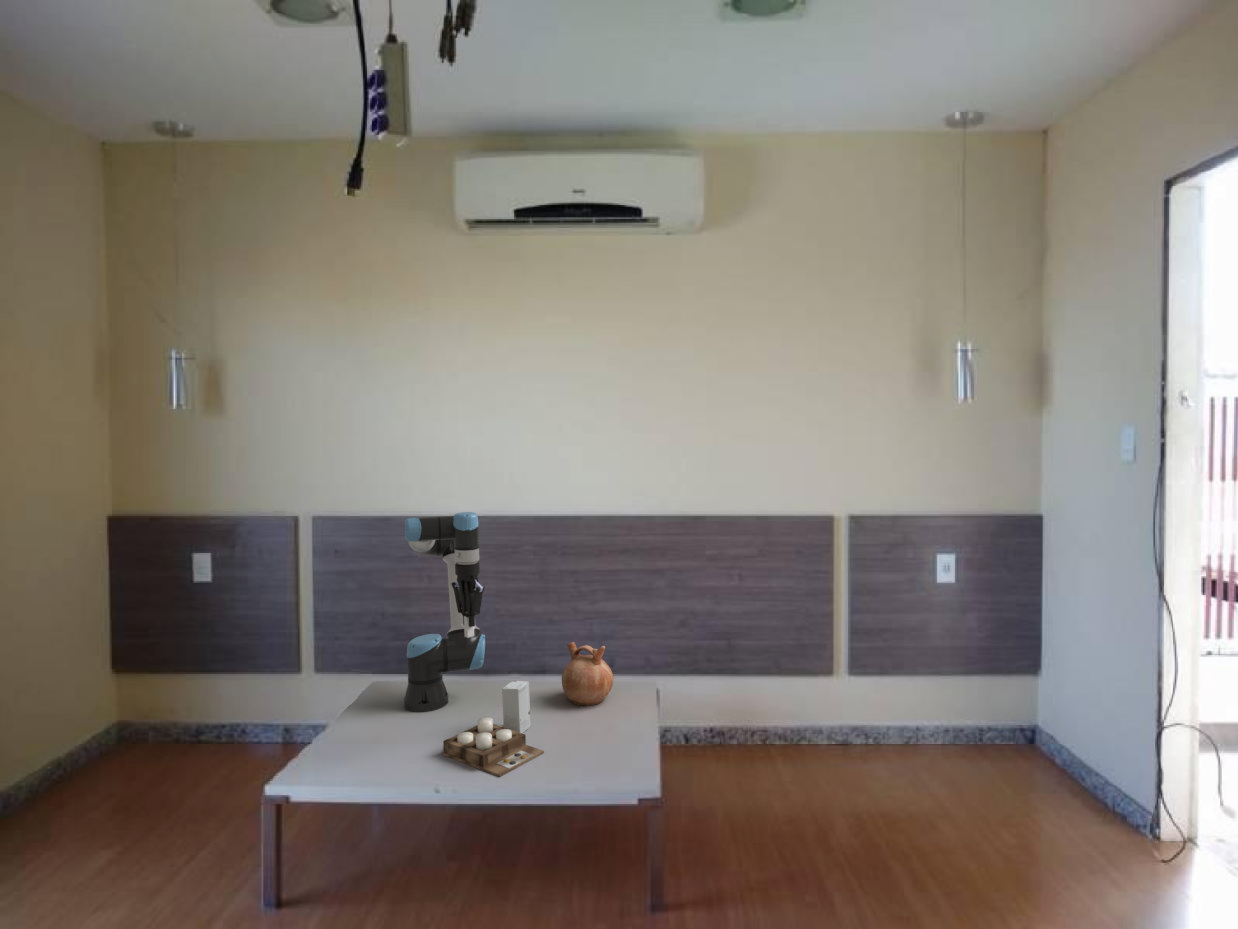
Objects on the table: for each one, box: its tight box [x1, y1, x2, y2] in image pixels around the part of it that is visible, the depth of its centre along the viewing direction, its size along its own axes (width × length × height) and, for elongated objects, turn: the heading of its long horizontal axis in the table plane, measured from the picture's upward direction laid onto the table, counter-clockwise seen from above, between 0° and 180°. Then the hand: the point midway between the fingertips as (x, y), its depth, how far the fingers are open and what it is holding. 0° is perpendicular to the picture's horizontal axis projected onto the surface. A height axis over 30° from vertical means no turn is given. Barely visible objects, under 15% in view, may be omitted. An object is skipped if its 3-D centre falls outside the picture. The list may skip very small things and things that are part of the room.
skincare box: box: [501, 680, 531, 734], centre depth 239 cm, size 8×6×15 cm
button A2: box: [477, 716, 494, 733], centre depth 230 cm, size 5×5×4 cm
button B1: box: [476, 733, 492, 752], centre depth 219 cm, size 5×5×4 cm
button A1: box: [456, 731, 473, 745], centre depth 224 cm, size 5×5×4 cm
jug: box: [561, 641, 614, 707], centre depth 264 cm, size 18×18×20 cm
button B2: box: [496, 729, 512, 742], centre depth 225 cm, size 5×5×4 cm
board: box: [441, 723, 545, 778], centre depth 223 cm, size 24×18×4 cm
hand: (469, 636), depth 238 cm, fingers closed
